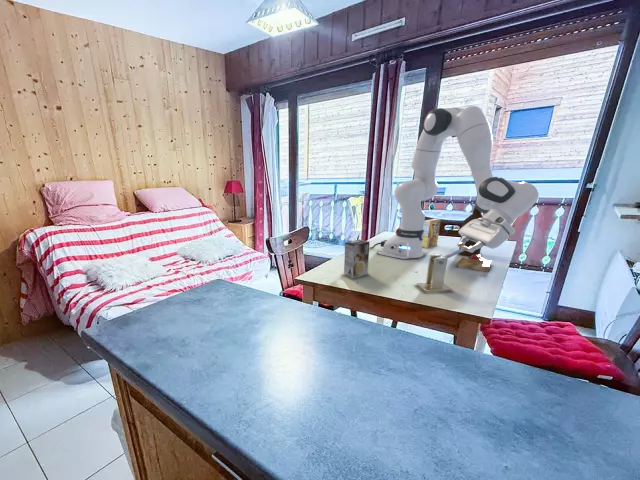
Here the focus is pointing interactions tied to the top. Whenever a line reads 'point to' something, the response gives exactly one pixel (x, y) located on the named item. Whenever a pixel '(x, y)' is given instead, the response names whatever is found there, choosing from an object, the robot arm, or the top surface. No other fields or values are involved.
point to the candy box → (431, 232)
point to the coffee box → (356, 258)
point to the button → (476, 256)
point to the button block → (474, 264)
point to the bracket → (435, 275)
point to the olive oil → (469, 243)
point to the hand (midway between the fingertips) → (464, 248)
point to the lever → (454, 252)
